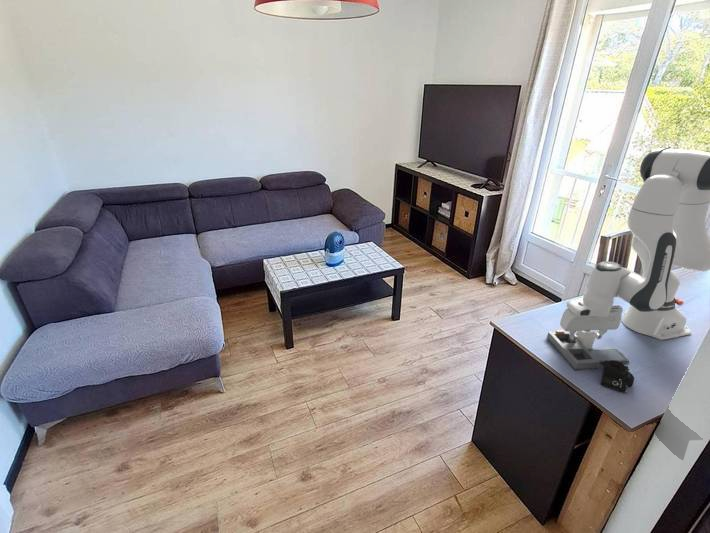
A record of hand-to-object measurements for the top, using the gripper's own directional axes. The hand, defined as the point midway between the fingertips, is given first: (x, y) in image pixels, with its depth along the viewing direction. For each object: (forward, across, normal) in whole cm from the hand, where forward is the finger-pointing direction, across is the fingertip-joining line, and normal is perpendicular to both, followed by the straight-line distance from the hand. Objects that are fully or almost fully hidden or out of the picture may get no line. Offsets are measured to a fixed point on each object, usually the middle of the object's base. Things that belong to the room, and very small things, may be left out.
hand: (585, 338), depth 133 cm
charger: (+3, 0, -1) cm, 3 cm away
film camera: (+4, 0, +17) cm, 18 cm away
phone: (+3, -3, +7) cm, 8 cm away
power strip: (+4, +7, +3) cm, 8 cm away
